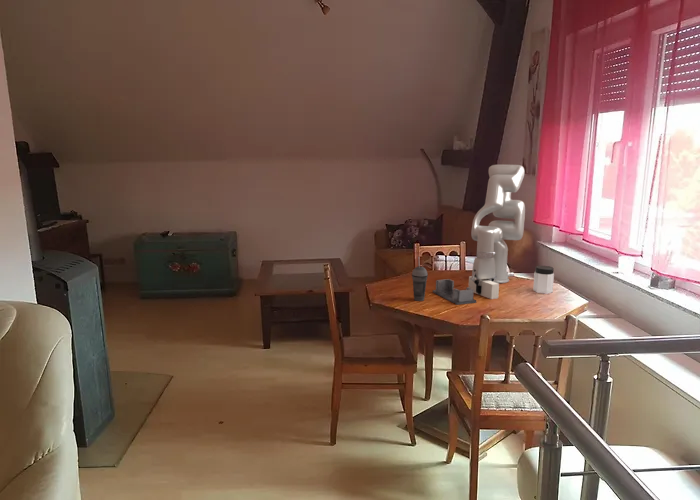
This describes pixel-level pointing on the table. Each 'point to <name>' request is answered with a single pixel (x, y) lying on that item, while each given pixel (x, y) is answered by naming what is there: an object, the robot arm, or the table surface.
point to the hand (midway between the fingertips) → (483, 292)
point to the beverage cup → (419, 282)
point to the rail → (486, 288)
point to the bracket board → (453, 292)
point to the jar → (543, 279)
